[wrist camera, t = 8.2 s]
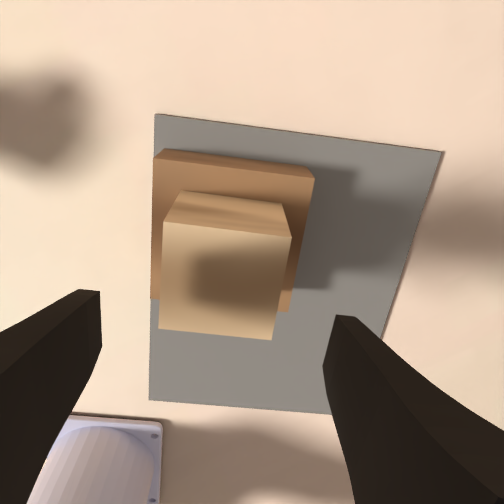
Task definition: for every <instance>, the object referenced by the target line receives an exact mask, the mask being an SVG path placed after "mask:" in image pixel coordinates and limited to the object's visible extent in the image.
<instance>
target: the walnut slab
mask: <svg viewBox="0 0 504 504" xmlns="http://www.w3.org/2000/svg"><path fill="white" fill-rule="evenodd" d="M314 181H315V178H314V176H313V175H312V173H311V172H310V171H309V169H308V168H307V166H300V165H293V164H285V163H277V162H269V161H261V160H253V159H245V158H237V157H230V156H222V155H214V154H206V153H198V152H190V151H182V150H174V149H167V148H164V149H163V150H162V151H161V152H160V153H158V154H157V155H156V156H155V157H154V158H153V189H152V237H151V286H150V299H158V300H160V282H161V261H162V239H163V221H164V220H165V218H166V216H167V214H168V212H169V211H170V209H171V207H172V205H173V204H174V202H175V200H176V198H177V196H178V195H179V193H180V191H181V190H183V191H190V192H198V193H205V194H213V195H221V196H228V197H236V198H244V199H251V200H259V201H267V202H274V203H282V206H283V210H284V213H285V216H286V220H287V223H288V226H289V230H290V233H291V236H292V240H291V245H290V250H289V255H288V260H287V265H286V270H285V275H284V280H283V285H282V290H281V295H280V300H279V305H278V310H277V311H279V312H288V310H289V305H290V300H291V295H292V290H293V285H294V280H295V275H296V270H297V265H298V260H299V255H300V250H301V246H302V241H303V236H304V231H305V226H306V221H307V216H308V211H309V206H310V201H311V196H312V191H313V186H314Z"/></svg>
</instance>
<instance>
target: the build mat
mask: <svg viewBox="0 0 504 504" xmlns="http://www.w3.org/2000/svg"><path fill="white" fill-rule="evenodd" d="M164 148H167V149H174V150H182V151H190V152H198V153H206V154H214V155H222V156H230V157H237V158H245V159H253V160H261V161H269V162H277V163H285V164H293V165H300V166H307V168H308V169H309V171H310V172H311V173H312V175H313V176H314V178H315V181H314V186H313V191H312V196H311V201H310V206H309V211H308V216H307V221H306V226H305V231H304V236H303V241H302V246H301V250H300V255H299V260H298V265H297V270H296V275H295V280H294V285H293V290H292V295H291V300H290V305H289V310H288V312H279V311H277V315H276V320H275V325H274V330H273V335H272V340H264V339H254V338H244V337H234V336H225V335H215V334H205V333H196V332H186V331H176V330H167V329H158V325H159V304H160V300H158V299H151V311H150V359H149V400H154V401H166V402H179V403H191V404H204V405H216V406H229V407H241V408H254V409H266V410H279V411H291V412H304V413H316V414H329V415H332V413H331V409H330V406H329V402H328V399H327V394H326V388H325V382H324V375H323V368H322V365H323V361H324V358H325V354H326V350H327V346H328V342H329V338H330V335H331V331H332V327H333V323H334V319H335V315H336V314H337V315H347V316H355V317H356V318H358V319H359V320H360V321H361V322H362V323H364V324H365V325H366V326H367V327H368V328H369V329H370V330H371V331H372V332H373V333H374V334H376V335H377V336H378V337H379V338H380V337H381V334H382V331H383V328H384V325H385V322H386V319H387V316H388V313H389V310H390V307H391V304H392V301H393V298H394V295H395V292H396V288H397V285H398V282H399V279H400V276H401V273H402V270H403V267H404V264H405V261H406V258H407V255H408V252H409V249H410V246H411V243H412V240H413V237H414V234H415V231H416V228H417V225H418V222H419V219H420V216H421V213H422V210H423V207H424V204H425V201H426V198H427V195H428V192H429V189H430V186H431V183H432V180H433V177H434V174H435V171H436V168H437V165H438V162H439V159H440V156H441V153H442V152H439V151H432V150H425V149H417V148H410V147H402V146H395V145H387V144H380V143H372V142H365V141H357V140H350V139H342V138H335V137H327V136H320V135H312V134H305V133H297V132H290V131H282V130H275V129H267V128H260V127H252V126H245V125H237V124H230V123H222V122H215V121H207V120H200V119H192V118H185V117H177V116H170V115H162V114H155V122H154V157H155V156H156V155H157V154H158V153H160V152H161V151H162V150H163V149H164Z"/></svg>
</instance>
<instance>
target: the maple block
mask: <svg viewBox="0 0 504 504" xmlns="http://www.w3.org/2000/svg"><path fill="white" fill-rule="evenodd" d="M291 240H292V236H291V233H290V230H289V226H288V223H287V220H286V216H285V213H284V210H283V206H282V203H274V202H267V201H259V200H251V199H244V198H236V197H228V196H221V195H213V194H205V193H198V192H190V191H183V190H181V191H180V193H179V195H178V196H177V198H176V200H175V202H174V204H173V205H172V207H171V209H170V211H169V212H168V214H167V216H166V218H165V220H164V221H163V239H162V261H161V282H160V304H159V325H158V329H167V330H176V331H186V332H196V333H205V334H215V335H225V336H234V337H244V338H254V339H264V340H272V335H273V330H274V325H275V320H276V315H277V310H278V305H279V300H280V295H281V290H282V285H283V280H284V275H285V270H286V265H287V260H288V255H289V250H290V245H291Z"/></svg>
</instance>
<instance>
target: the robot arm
mask: <svg viewBox="0 0 504 504" xmlns="http://www.w3.org/2000/svg"><path fill="white" fill-rule="evenodd" d="M101 348H102V332H101V309H100V291H93V290H83V289H78V290H76V291H74V292H72V293H70V294H68V295H67V296H65V297H63V298H61V299H60V300H58V301H56V302H54V303H53V304H51V305H49V306H47V307H46V308H44V309H42V310H40V311H39V312H37V313H35V314H33V315H32V316H30V317H28V318H26V319H25V320H23V321H21V322H19V323H17V324H15V325H13V326H11V327H9V328H7V329H5V330H4V331H2V332H0V504H159V503H160V480H161V458H162V435H163V426H162V424H161V423H159V422H154V421H141V420H128V419H115V418H102V417H89V416H76V415H70V413H71V412H72V410H73V408H74V406H75V404H76V402H77V401H78V399H79V397H80V395H81V393H82V391H83V390H84V388H85V386H86V384H87V382H88V380H89V378H90V377H91V374H92V372H93V369H94V367H95V364H96V362H97V359H98V356H99V354H100V351H101ZM322 368H323V375H324V382H325V388H326V394H327V399H328V402H329V406H330V409H331V413H332V416H333V420H334V423H335V427H336V430H337V433H338V437H339V440H340V444H341V447H342V450H343V454H344V457H345V461H346V464H347V468H348V472H349V476H350V480H351V485H352V490H353V495H354V500H355V504H504V431H503V430H502V429H500V428H498V427H497V426H495V425H493V424H492V423H490V422H488V421H487V420H485V419H483V418H482V417H480V416H479V415H477V414H475V413H474V412H472V411H471V410H469V409H468V408H466V407H465V406H463V405H462V404H460V403H459V402H457V401H456V400H455V399H453V398H452V397H450V396H449V395H447V394H446V393H445V392H443V391H442V390H440V389H439V388H438V387H436V386H435V385H434V384H432V383H431V382H430V381H429V380H427V379H426V378H425V377H424V376H422V375H421V374H420V373H419V372H417V371H416V370H415V369H414V368H412V367H411V366H410V365H409V364H408V363H407V362H405V361H404V360H403V359H402V358H401V357H400V356H399V355H397V354H396V353H395V352H394V351H393V350H392V349H391V348H390V347H389V346H387V345H386V344H385V343H384V342H383V341H382V340H381V339H380V338H379V337H378V336H377V335H376V334H374V333H373V332H372V331H371V330H370V329H369V328H368V327H367V326H366V325H365V324H364V323H362V322H361V321H360V320H359V319H358V318H356V317H355V316H347V315H337V314H336V315H335V319H334V323H333V327H332V331H331V335H330V338H329V342H328V346H327V350H326V354H325V358H324V361H323V365H322ZM46 458H47V461H46V463H45V465H44V467H43V464H44V462H45V460H46ZM42 467H43V469H42ZM41 469H42V470H41ZM40 471H41V472H40Z"/></svg>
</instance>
